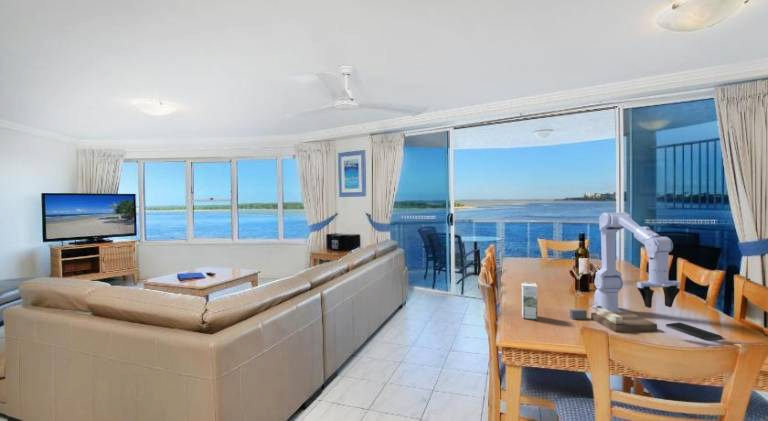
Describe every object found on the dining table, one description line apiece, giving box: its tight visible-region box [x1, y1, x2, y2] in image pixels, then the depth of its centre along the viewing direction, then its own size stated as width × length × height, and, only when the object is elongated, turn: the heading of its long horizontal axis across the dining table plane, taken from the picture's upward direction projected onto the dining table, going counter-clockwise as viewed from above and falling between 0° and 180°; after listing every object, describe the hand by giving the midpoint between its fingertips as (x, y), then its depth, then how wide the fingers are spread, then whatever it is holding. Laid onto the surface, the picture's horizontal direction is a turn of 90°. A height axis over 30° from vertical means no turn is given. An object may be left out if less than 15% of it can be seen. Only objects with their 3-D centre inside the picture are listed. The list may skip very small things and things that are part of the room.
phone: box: [665, 322, 723, 342], centre depth 133 cm, size 8×1×15 cm
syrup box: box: [521, 282, 538, 321], centre depth 152 cm, size 6×6×14 cm
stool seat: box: [590, 311, 658, 333], centre depth 142 cm, size 15×16×2 cm
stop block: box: [569, 308, 588, 320], centre depth 150 cm, size 2×6×4 cm, turn 91°
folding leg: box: [595, 306, 623, 324], centre depth 142 cm, size 13×2×3 cm, turn 1°
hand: (658, 306), depth 131 cm, fingers open, 7 cm apart
